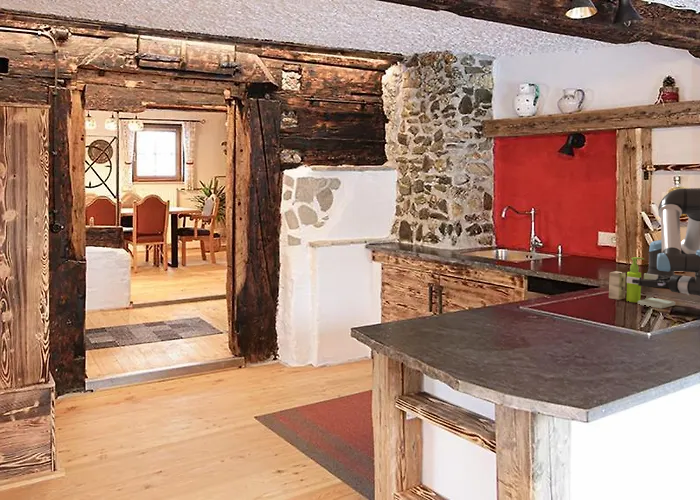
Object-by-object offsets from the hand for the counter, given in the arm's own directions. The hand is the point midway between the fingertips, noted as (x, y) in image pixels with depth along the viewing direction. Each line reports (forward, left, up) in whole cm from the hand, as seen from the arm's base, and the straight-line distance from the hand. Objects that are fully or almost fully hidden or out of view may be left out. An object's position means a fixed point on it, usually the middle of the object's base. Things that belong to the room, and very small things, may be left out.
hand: (635, 277), depth 300 cm
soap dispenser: (-1, -1, -11) cm, 11 cm away
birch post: (-1, -10, -11) cm, 14 cm away
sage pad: (-1, +10, -11) cm, 15 cm away
